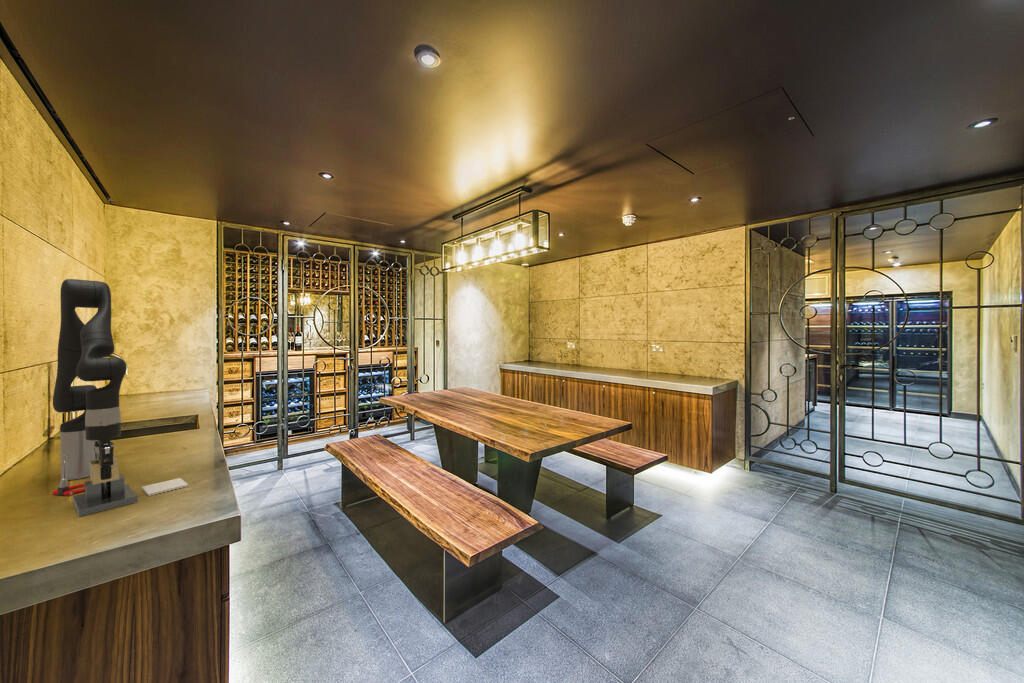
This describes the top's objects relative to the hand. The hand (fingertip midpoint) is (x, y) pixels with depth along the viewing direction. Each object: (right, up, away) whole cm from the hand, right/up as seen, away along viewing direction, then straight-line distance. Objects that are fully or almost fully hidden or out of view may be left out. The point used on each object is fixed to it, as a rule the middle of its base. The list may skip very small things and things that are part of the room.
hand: (104, 476), depth 119 cm
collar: (0, -1, 0) cm, 1 cm away
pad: (+8, -8, +11) cm, 16 cm away
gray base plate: (0, -8, 0) cm, 8 cm away
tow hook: (-19, -8, +10) cm, 23 cm away
